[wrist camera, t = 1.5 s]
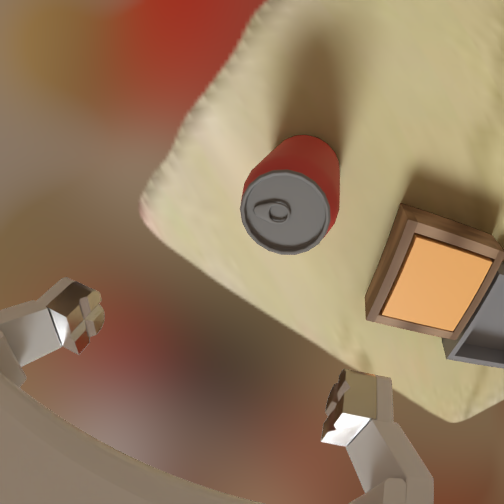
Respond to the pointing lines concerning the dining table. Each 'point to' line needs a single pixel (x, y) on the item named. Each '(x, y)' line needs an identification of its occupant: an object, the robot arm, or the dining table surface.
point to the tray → (482, 330)
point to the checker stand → (395, 251)
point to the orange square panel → (435, 283)
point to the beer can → (292, 196)
